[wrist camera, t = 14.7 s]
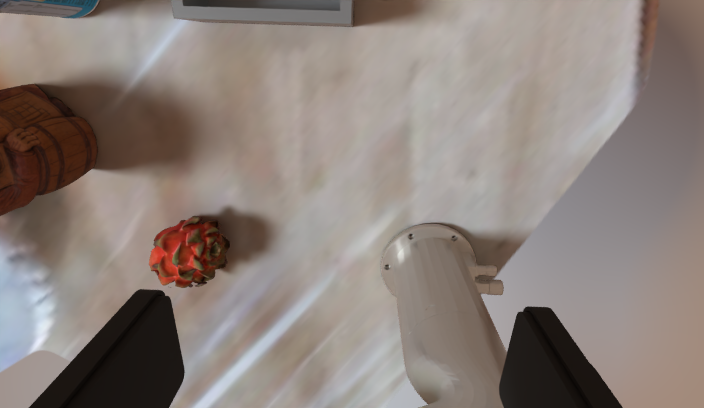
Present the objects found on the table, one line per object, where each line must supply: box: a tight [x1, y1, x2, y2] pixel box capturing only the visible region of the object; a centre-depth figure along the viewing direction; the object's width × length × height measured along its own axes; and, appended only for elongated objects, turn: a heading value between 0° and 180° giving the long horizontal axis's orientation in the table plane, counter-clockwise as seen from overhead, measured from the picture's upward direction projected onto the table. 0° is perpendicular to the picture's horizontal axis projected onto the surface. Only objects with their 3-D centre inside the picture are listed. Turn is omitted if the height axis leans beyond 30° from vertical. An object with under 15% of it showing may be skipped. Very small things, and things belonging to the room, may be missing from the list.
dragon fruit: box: [149, 216, 230, 288], centre depth 48 cm, size 8×8×12 cm
